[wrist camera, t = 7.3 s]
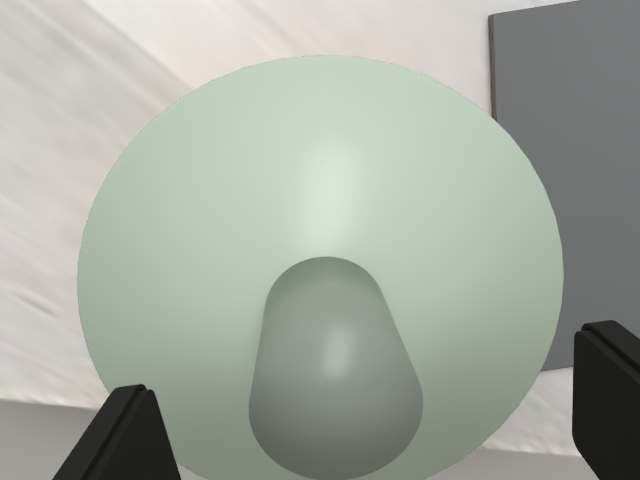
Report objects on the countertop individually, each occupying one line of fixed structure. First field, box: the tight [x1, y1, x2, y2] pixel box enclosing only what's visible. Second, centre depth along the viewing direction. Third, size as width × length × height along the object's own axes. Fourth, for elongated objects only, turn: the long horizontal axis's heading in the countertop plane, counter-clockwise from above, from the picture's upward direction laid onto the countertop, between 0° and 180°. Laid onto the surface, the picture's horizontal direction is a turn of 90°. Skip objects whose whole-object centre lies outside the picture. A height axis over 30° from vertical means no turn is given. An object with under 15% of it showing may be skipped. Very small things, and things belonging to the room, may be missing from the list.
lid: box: [77, 55, 564, 480], centre depth 13 cm, size 16×16×6 cm
